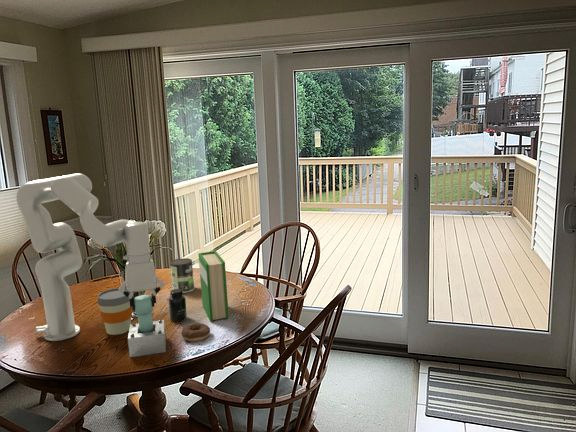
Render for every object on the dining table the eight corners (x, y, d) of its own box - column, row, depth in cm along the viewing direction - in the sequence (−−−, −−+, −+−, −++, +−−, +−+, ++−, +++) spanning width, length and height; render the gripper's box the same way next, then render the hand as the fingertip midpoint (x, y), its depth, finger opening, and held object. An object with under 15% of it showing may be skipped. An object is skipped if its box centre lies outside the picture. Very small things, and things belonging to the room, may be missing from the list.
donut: (177, 336, 180) (176, 326, 179) (202, 328, 186) (201, 318, 185) (189, 346, 172) (188, 336, 171) (215, 337, 178) (214, 327, 177)
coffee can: (198, 286, 232) (195, 258, 229) (188, 294, 222) (185, 265, 219) (179, 285, 235) (176, 257, 232) (168, 292, 225) (165, 264, 222)
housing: (129, 357, 165) (127, 336, 163) (132, 342, 176) (130, 322, 175) (165, 352, 168) (163, 331, 166) (165, 337, 179) (163, 318, 178)
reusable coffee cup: (132, 320, 196) (128, 285, 193) (138, 331, 185) (133, 295, 182) (99, 327, 190) (95, 291, 187) (103, 339, 179) (98, 302, 176)
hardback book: (228, 319, 193) (224, 262, 188) (210, 322, 190) (206, 264, 186) (219, 303, 209) (215, 250, 204) (202, 306, 207) (198, 253, 202)
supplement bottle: (183, 322, 191) (180, 294, 189) (167, 321, 193) (164, 293, 190) (189, 315, 198) (187, 288, 196) (174, 314, 199) (171, 287, 197)
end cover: (138, 334, 167) (133, 302, 164) (137, 327, 172) (133, 296, 170) (155, 330, 169) (151, 299, 166) (154, 324, 174) (150, 293, 172)
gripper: (112, 263, 159) (117, 314, 163) (165, 258, 164) (169, 307, 168) (113, 257, 166) (118, 306, 170) (164, 252, 171) (167, 299, 175)
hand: (143, 306), depth 169 cm, fingers closed on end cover, 6 cm apart
